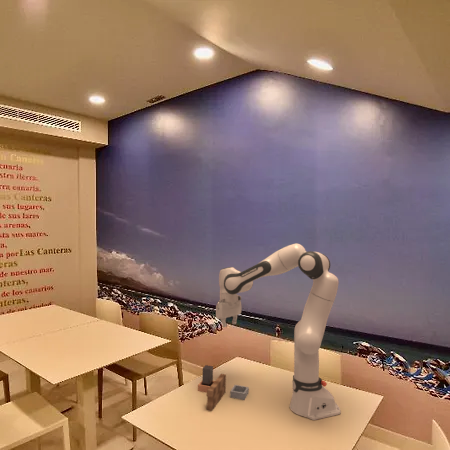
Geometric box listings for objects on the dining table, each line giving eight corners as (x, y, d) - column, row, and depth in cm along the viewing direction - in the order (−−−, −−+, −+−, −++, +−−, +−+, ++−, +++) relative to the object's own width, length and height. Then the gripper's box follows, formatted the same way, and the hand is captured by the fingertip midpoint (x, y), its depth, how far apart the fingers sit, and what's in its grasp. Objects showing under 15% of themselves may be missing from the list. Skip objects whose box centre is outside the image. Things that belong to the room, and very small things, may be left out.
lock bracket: (203, 384, 181) (203, 378, 181) (216, 387, 179) (216, 381, 179) (197, 390, 174) (197, 384, 174) (211, 393, 172) (211, 387, 172)
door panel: (217, 391, 175) (218, 373, 174) (225, 392, 173) (225, 374, 173) (203, 409, 158) (204, 389, 158) (212, 411, 156) (212, 391, 156)
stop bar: (205, 386, 179) (205, 365, 179) (212, 387, 178) (213, 366, 178) (202, 390, 175) (202, 368, 175) (209, 391, 174) (210, 369, 174)
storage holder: (234, 390, 175) (234, 384, 175) (248, 393, 173) (248, 387, 173) (230, 397, 169) (230, 391, 169) (244, 400, 166) (244, 393, 166)
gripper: (222, 300, 174) (224, 329, 172) (242, 296, 191) (244, 322, 189) (212, 300, 177) (213, 328, 175) (232, 296, 194) (234, 322, 193)
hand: (229, 325), depth 182 cm, fingers open, 8 cm apart
